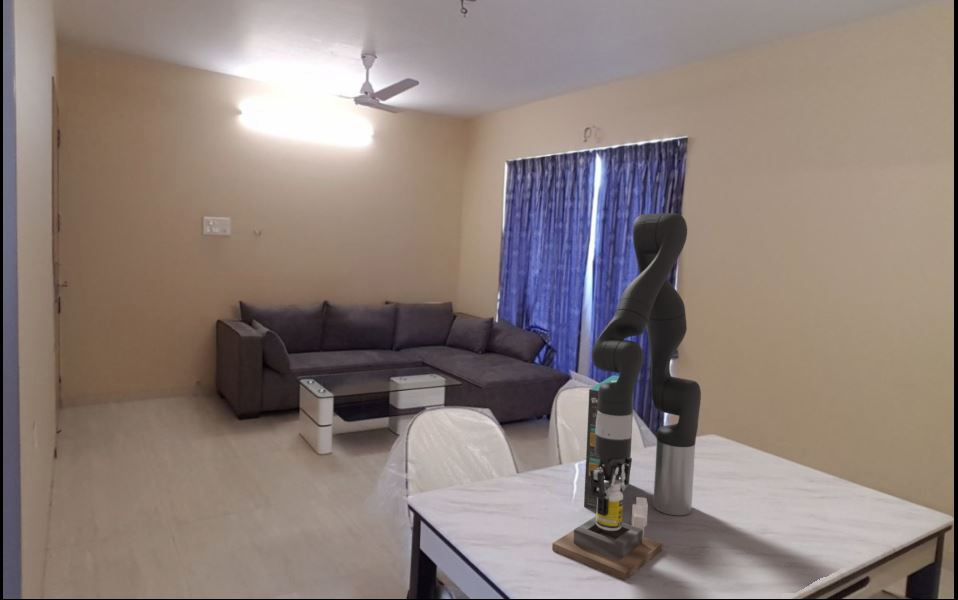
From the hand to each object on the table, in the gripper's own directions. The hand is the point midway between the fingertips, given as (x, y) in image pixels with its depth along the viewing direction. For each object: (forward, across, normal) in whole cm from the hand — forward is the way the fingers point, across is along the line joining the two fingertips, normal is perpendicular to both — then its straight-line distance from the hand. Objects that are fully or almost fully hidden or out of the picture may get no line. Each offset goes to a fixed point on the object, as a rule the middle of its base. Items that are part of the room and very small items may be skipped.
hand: (609, 509), depth 126 cm
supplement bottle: (+4, 0, 0) cm, 4 cm away
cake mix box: (+9, +27, +15) cm, 32 cm away
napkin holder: (+10, +16, 0) cm, 18 cm away
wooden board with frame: (+9, 0, 0) cm, 9 cm away
